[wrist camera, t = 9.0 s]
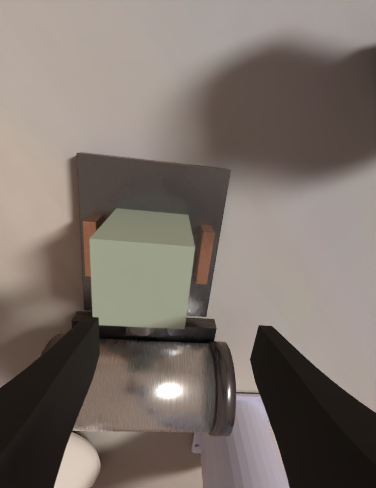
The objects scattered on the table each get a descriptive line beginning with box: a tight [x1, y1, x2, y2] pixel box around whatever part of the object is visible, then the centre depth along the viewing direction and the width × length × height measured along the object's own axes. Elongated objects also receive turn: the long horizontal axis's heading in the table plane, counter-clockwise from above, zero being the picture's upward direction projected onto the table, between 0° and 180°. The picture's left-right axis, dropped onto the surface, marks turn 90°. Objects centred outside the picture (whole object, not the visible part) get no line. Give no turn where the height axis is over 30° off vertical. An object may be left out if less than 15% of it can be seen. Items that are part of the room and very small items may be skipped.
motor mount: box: [40, 153, 236, 436], centre depth 17 cm, size 19×13×7 cm
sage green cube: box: [89, 208, 195, 336], centre depth 16 cm, size 7×5×6 cm
